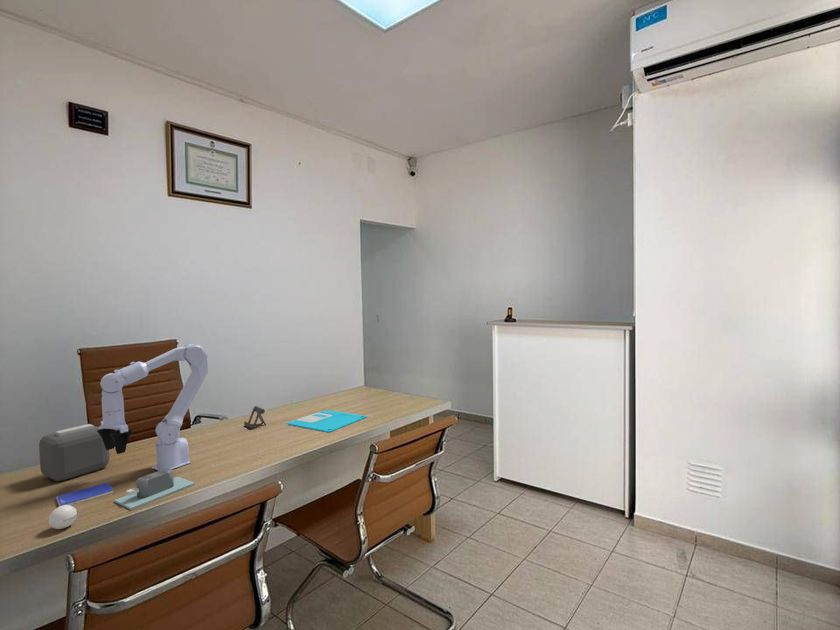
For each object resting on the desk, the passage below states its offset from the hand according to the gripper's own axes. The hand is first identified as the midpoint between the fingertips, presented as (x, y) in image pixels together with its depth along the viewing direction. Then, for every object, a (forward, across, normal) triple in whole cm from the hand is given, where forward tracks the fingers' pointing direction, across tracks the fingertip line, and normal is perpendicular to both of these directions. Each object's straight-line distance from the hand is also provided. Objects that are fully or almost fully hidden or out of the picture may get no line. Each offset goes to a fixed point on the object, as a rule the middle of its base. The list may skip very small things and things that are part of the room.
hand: (115, 451), depth 135 cm
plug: (+9, +23, 0) cm, 25 cm away
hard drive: (+10, +5, -10) cm, 15 cm away
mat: (+9, +23, +1) cm, 25 cm away
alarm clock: (+10, -19, -4) cm, 22 cm away
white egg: (+10, +22, -20) cm, 31 cm away
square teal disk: (+10, +16, +81) cm, 83 cm away
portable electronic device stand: (+10, -9, +60) cm, 61 cm away
